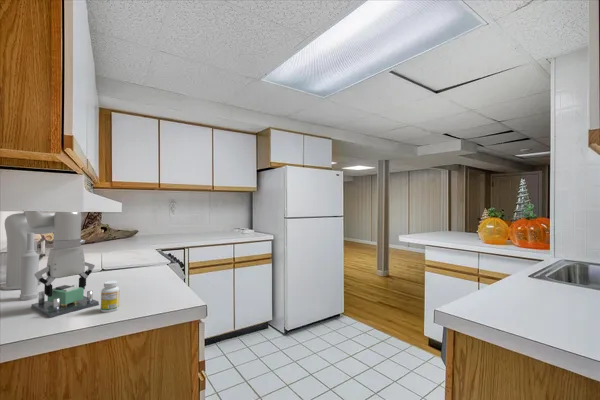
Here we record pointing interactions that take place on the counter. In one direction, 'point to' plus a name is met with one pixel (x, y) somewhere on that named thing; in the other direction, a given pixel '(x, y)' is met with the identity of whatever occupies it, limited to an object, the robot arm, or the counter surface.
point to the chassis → (62, 305)
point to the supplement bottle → (110, 296)
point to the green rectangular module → (67, 294)
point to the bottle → (29, 270)
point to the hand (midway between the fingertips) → (66, 292)
